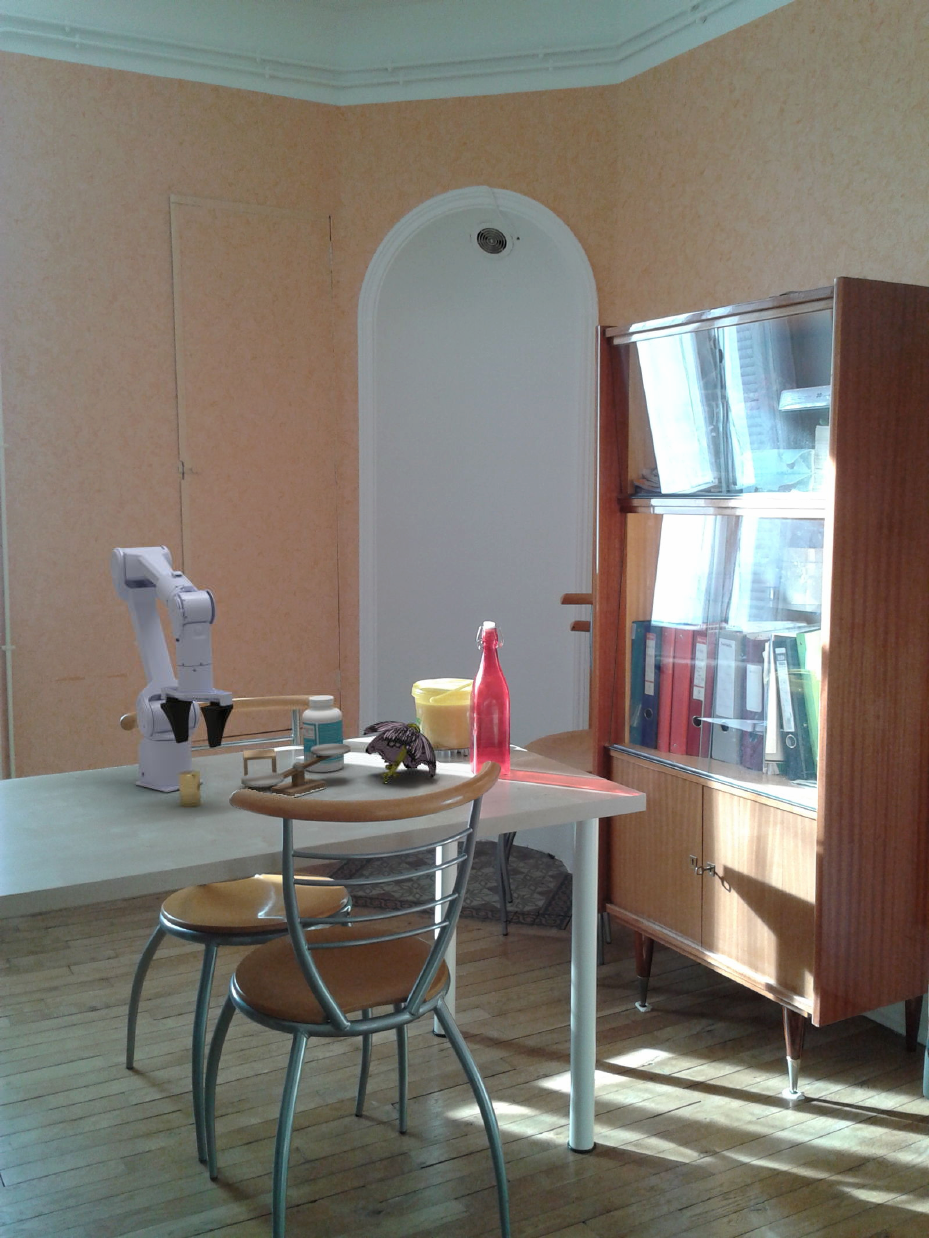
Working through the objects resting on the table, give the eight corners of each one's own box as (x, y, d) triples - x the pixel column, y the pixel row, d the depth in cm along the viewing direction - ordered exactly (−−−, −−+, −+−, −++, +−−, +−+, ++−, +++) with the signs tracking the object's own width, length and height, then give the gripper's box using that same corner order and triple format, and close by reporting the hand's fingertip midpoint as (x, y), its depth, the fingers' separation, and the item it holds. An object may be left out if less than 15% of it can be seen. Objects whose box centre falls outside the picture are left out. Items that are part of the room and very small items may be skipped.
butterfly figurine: (460, 727, 197) (379, 709, 192) (448, 792, 194) (366, 775, 190) (433, 733, 210) (358, 717, 206) (422, 795, 207) (345, 779, 203)
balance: (233, 803, 186) (231, 767, 186) (331, 774, 204) (330, 741, 203) (261, 810, 182) (260, 773, 181) (359, 780, 200) (358, 746, 199)
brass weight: (176, 805, 186) (174, 773, 185) (192, 800, 188) (191, 769, 188) (188, 808, 184) (187, 776, 183) (205, 803, 186) (204, 772, 186)
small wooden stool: (245, 793, 193) (244, 757, 192) (244, 785, 198) (243, 750, 197) (277, 790, 194) (276, 755, 193) (275, 782, 199) (273, 748, 198)
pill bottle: (347, 763, 212) (345, 693, 211) (339, 773, 205) (337, 701, 203) (309, 763, 213) (306, 693, 211) (299, 773, 206) (297, 701, 204)
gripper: (145, 664, 185) (149, 744, 187) (209, 670, 178) (213, 753, 179) (176, 658, 191) (180, 736, 193) (239, 663, 183) (243, 744, 185)
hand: (198, 744), depth 186 cm, fingers open, 7 cm apart
